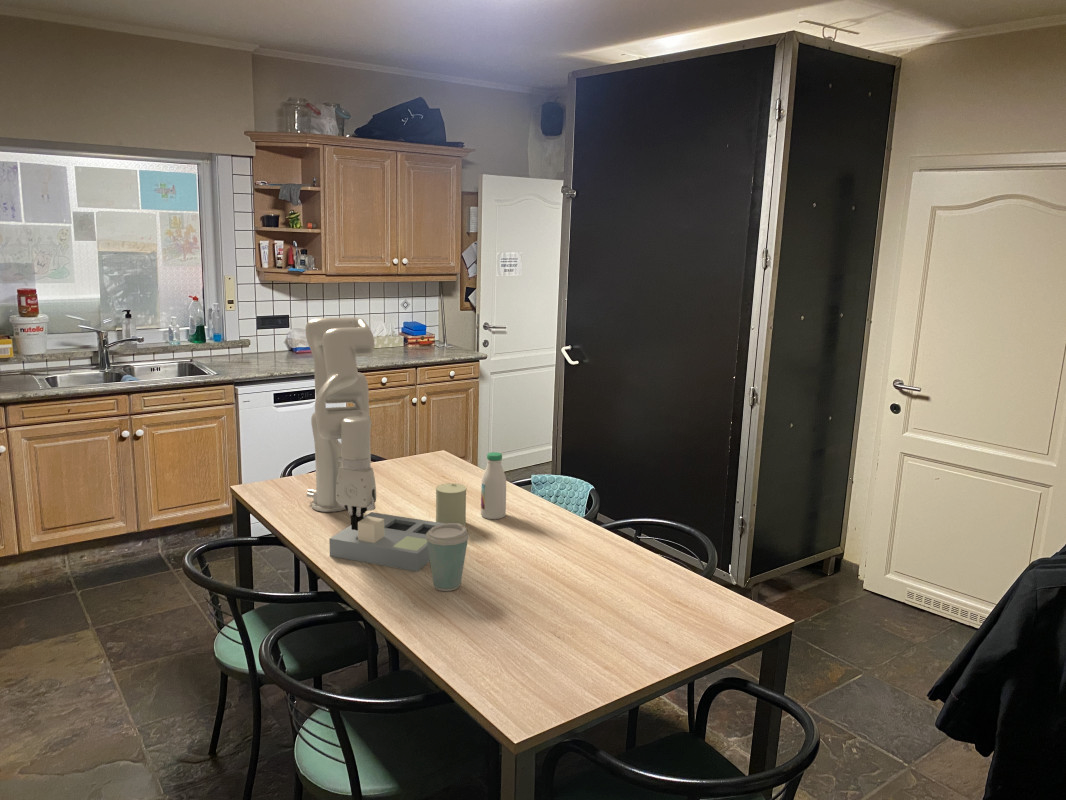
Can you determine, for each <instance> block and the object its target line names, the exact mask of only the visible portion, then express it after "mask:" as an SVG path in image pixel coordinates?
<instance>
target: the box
mask: <svg viewBox="0 0 1066 800" xmlns="http://www.w3.org/2000/svg"><path fill="white" fill-rule="evenodd" d="M363 516H364V518H366V517H368V516H370V517H376V518H381V519H384V537H383V538H381V539H380V540H378V541H377V542H375V543H372V542H366V541H361V540H358V530H352V525H351V524H350V525H349V526H346V527H345V528H344V529H342V530H340V531H339V532H337V533H336V534H334V535H333V536H330V538H329V539H328V541H329V557H333V558H338V559H344V560H350V561H355V562H360V563H368V564H372V565H376V566H377V565H378V566H383V567H389V568H393V569H399V570H406V571H411V572H420V571H421V570H422V569H423V567H425V566H426V565H427V564H429V563H430V557H429V551H428V544H427V541H426V533H427V532H428V531H429V530H430V529H431V528H432V527H435V526H438V525H440V524H444V523H438V522H436V521H430V520H424V519H418V518H417V519H416V518H413V517H412V518H411V517H406V516H405V517H404V516H398V515H393V514H385V513H381V512H372V511H371V512H369V513H367V514H366V515H363Z"/></svg>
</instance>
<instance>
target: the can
mask: <svg viewBox="0 0 1066 800" xmlns="http://www.w3.org/2000/svg"><path fill="white" fill-rule="evenodd" d="M466 501H467V486H466V485H464V484H460V483H455V482H454V483H453V482H448V483H447V482H446V483H441V484H439V485H437V486H436V487H435V522H438V523H444V524H447V523H459V524H461V525H464V526H465V527H466V526H467V520H466V519H467V502H466Z"/></svg>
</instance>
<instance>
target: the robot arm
mask: <svg viewBox="0 0 1066 800" xmlns="http://www.w3.org/2000/svg"><path fill="white" fill-rule="evenodd" d="M305 337H306V338H305V339H306V341H307V345H308V348H310V352H311V355H312V357H313V369H314V373H313V374H314V390H315V391H314V392H315V403H314V412H313V413H312V415H311V419H310V420H311V422H310V423H311V430H312V434H313V435H312V436H313V441H314V453H315V454H314V455H315V456H314V460H315V489H312V488H308V489H307V493H306V497H307V498H312V501H311V508H312V509H313V510H315V511H318V512H321V513H323V512H325V513H334V512H341V511H345V510H346V511H347V513H348V515H349V516H350V525H352V530H358V522H359V521H361V520H362V519H364V516H365V515H364V514H366V513H367V512H368V511H371V512H372V511H374V510H376V507H377V506H376V502H377V486H376V485H377V484H376V478H375V473H374V469H373V467H372V461H371V460H372V459H371V458H372V457H371V454H372V453H371V430H372V419H371V416H370V400H369V399H370V398H369V395H370V394H369V384H368V379H367V377H366V375H365V374H364V373H362V372H360V371H359V372H358V367H357V366H358V365H357V360H356V357H357V358H358V357H359V358H360V357H370V356H371V355H373V354H374V351H375V339H374V337H375V336H374V334H373V332H372V330H371V328H370V327H369V325H368V324H367V322H366V321H365V320H364V319H363V318H360V317H319V318H313V319H310V320H308V321H307V322H306V325H305ZM345 403H346V404H349V403H351V404H352V406H335V407H334V406H332V407H326V404H345ZM339 440H340V441H339Z"/></svg>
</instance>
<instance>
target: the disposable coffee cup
mask: <svg viewBox="0 0 1066 800" xmlns="http://www.w3.org/2000/svg"><path fill="white" fill-rule="evenodd" d="M467 530H468V529H467V528H466V526H464V525H461V524H459V523H447V524H440V525H438V526H435V527H432V528H431V529H430V530H429V531H428V532H427V533H426V541H427V544H428V551H429V557H430V561H429V563H430V569H431V576H432V577H431V578H432V583H433V586H434V588H435V589H436V590H437V591H441V592H451V591H452V592H453V591H455V590H458V589H459V588H460V585H461V584H462V580H463V578H462V577H463V572H464V565H465V561H466V553H467V545H468V540H469V539H470V536H469V532H468V531H467Z"/></svg>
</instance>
